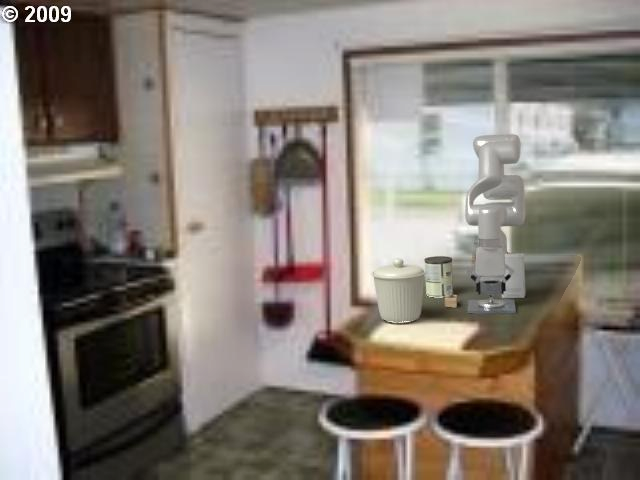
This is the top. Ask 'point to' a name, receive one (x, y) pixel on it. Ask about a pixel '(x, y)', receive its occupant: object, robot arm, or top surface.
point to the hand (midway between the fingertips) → (491, 293)
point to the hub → (491, 306)
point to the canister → (399, 291)
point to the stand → (451, 300)
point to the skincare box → (515, 276)
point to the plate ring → (490, 287)
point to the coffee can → (438, 276)
